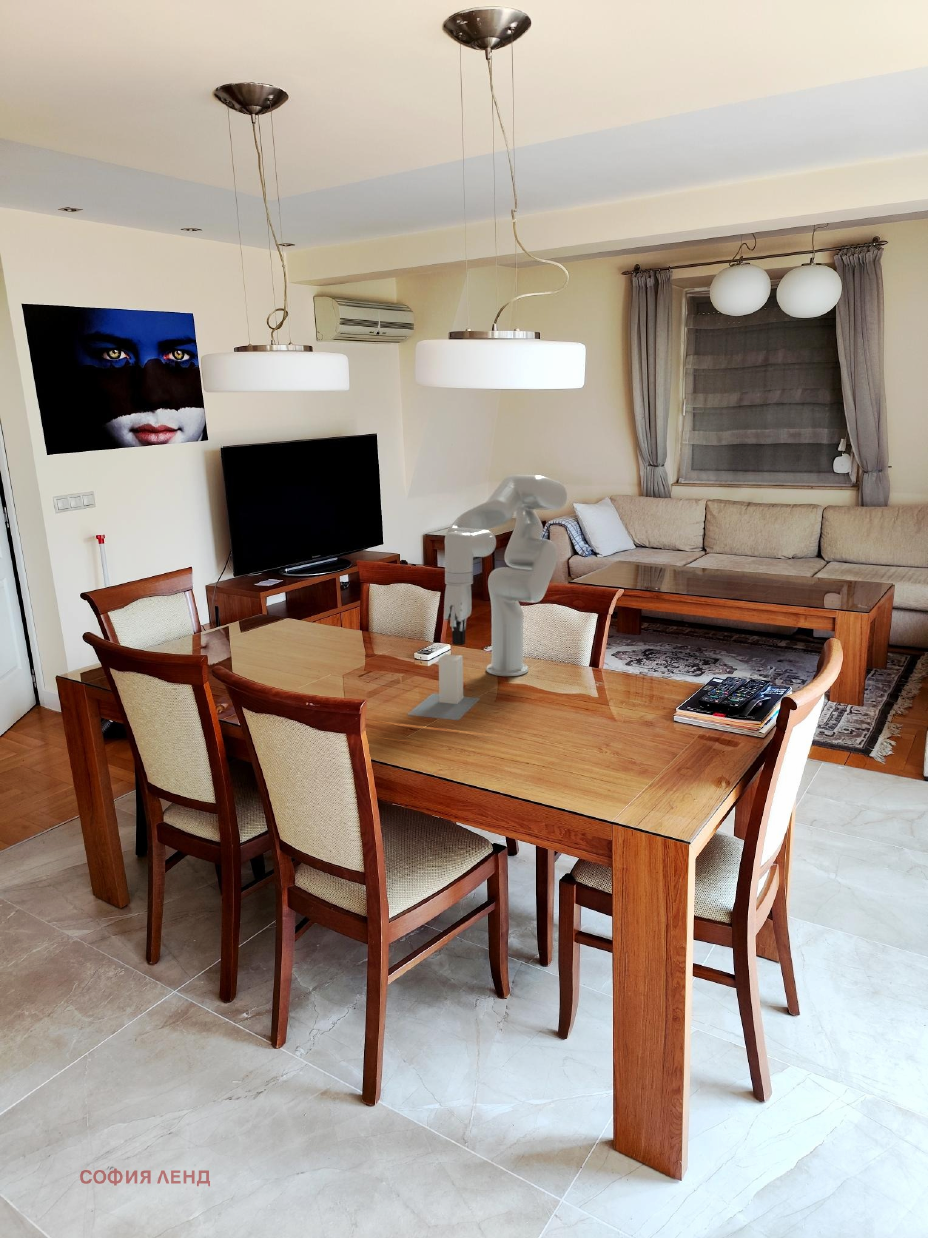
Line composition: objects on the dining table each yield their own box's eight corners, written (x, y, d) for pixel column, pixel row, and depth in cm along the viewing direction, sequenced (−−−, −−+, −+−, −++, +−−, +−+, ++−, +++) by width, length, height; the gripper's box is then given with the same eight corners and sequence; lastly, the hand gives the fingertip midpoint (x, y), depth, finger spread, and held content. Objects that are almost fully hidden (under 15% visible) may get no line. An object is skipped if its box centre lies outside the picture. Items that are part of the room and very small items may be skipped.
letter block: (446, 696, 231) (445, 654, 228) (463, 698, 230) (462, 655, 227) (439, 702, 226) (438, 659, 224) (457, 704, 225) (456, 660, 222)
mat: (432, 695, 234) (432, 693, 234) (480, 700, 230) (480, 698, 229) (407, 716, 218) (407, 714, 217) (458, 722, 213) (458, 720, 213)
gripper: (455, 573, 235) (455, 637, 239) (435, 581, 222) (436, 649, 225) (480, 574, 233) (480, 639, 237) (463, 583, 219) (462, 652, 223)
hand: (458, 644), depth 231 cm, fingers closed
